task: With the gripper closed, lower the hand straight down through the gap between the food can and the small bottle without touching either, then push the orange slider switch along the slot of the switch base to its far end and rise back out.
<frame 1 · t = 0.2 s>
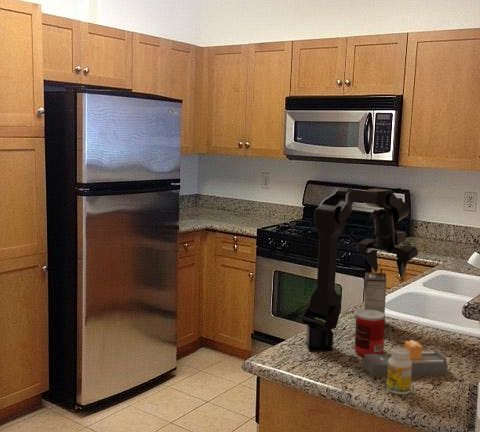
hand: (388, 274, 179), 15 cm above the worktop, tool pointing down, fingers open, 9 cm apart
switch slider: (413, 349, 142), point 5 cm above the worktop, slide at 0.0 cm
supplement bottle: (398, 390, 132), on the worktop
canned food: (368, 353, 155), on the worktop
coffee box: (373, 326, 176), on the worktop
switch base: (404, 370, 143), on the worktop
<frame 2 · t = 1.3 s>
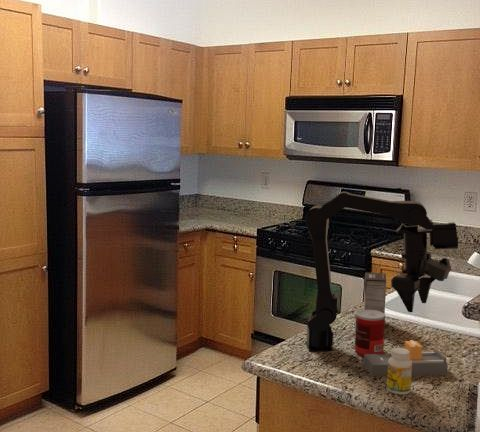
hand: (417, 307, 150), 14 cm above the worktop, tool pointing down, fingers open, 9 cm apart
nothing on the worktop moved.
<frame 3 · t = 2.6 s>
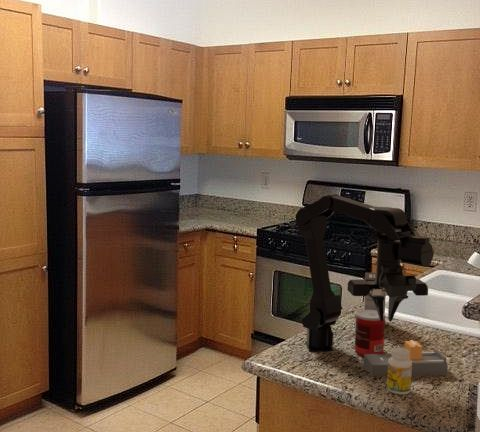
hand: (385, 320, 141), 13 cm above the worktop, tool pointing down, fingers closed
nothing on the worktop moved.
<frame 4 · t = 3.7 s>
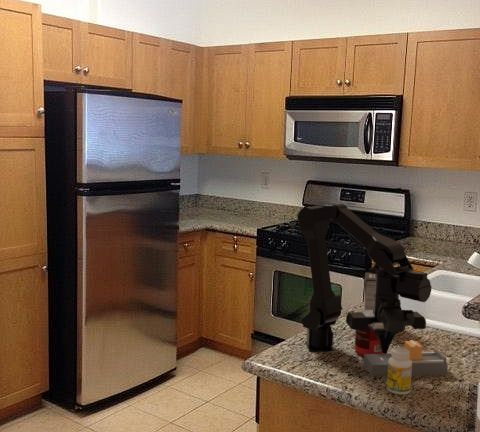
hand: (384, 353, 142), 5 cm above the worktop, tool pointing down, fingers closed
nothing on the worktop moved.
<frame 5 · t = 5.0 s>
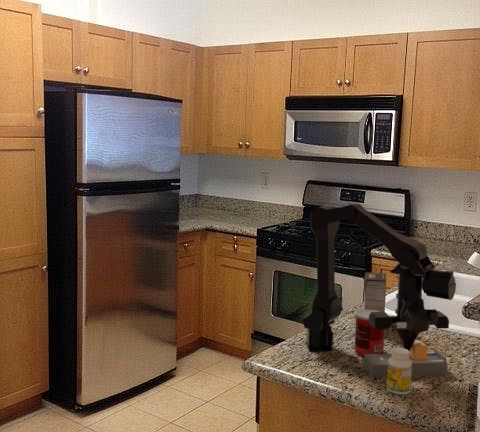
hand: (406, 352, 142), 5 cm above the worktop, tool pointing down, fingers closed
switch slider: (418, 349, 143), point 5 cm above the worktop, slide at 1.3 cm, touching gripper
everything else where it was.
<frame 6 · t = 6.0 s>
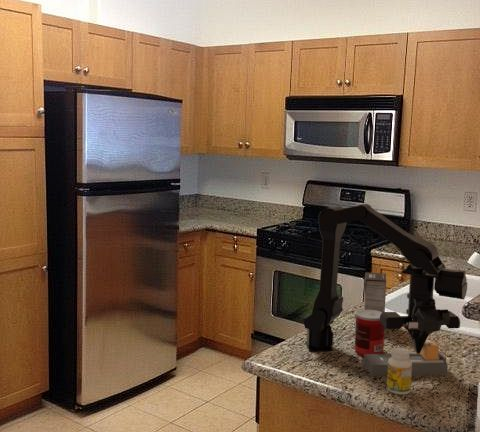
hand: (417, 352, 143), 5 cm above the worktop, tool pointing down, fingers closed
switch slider: (429, 349, 143), point 5 cm above the worktop, slide at 4.2 cm, touching gripper
everything else where it was.
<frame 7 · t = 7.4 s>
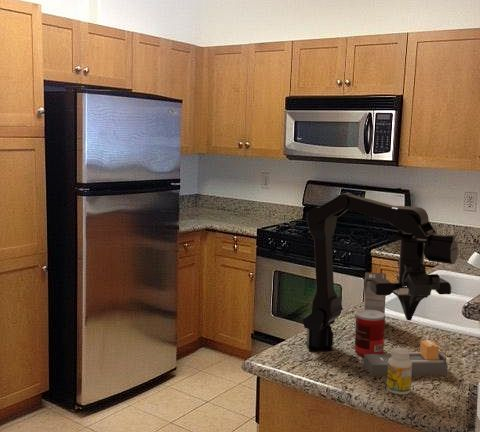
hand: (408, 320, 141), 13 cm above the worktop, tool pointing down, fingers closed
switch slider: (429, 349, 143), point 5 cm above the worktop, slide at 4.2 cm
everything else where it was.
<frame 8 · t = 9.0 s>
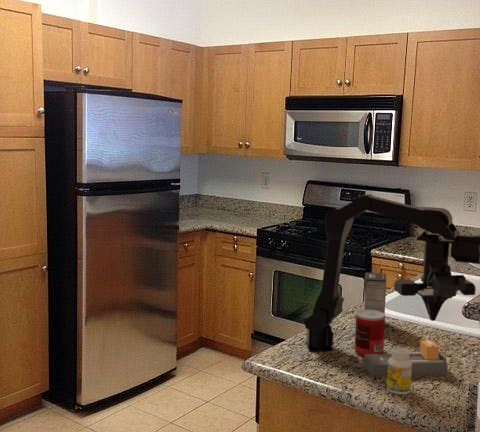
hand: (432, 320, 142), 13 cm above the worktop, tool pointing down, fingers closed
nothing on the worktop moved.
at the end: switch slider slide at 4.2 cm; canned food moved 0.2 cm from its start; supplement bottle moved 0.2 cm from its start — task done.
